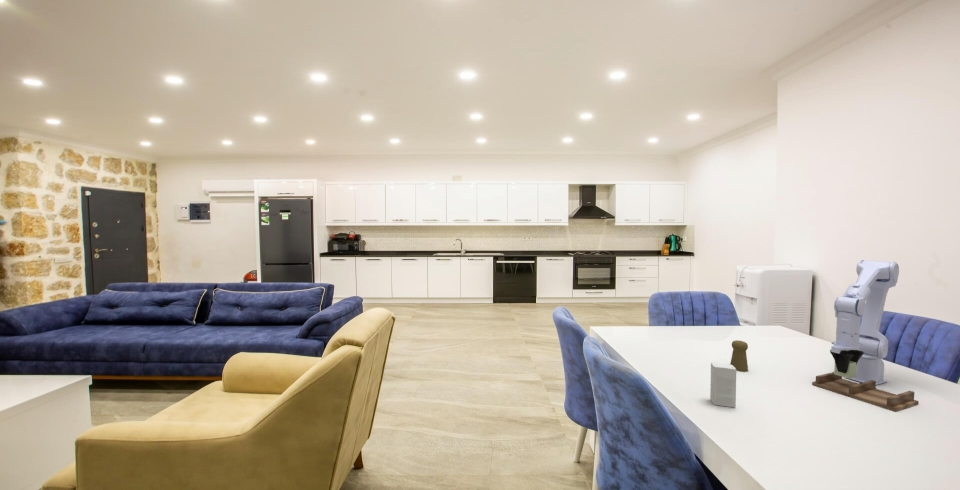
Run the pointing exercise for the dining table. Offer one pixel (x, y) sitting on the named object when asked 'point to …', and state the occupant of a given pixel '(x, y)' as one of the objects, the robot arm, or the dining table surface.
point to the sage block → (850, 372)
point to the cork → (739, 356)
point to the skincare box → (723, 385)
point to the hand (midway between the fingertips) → (845, 371)
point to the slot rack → (866, 392)
